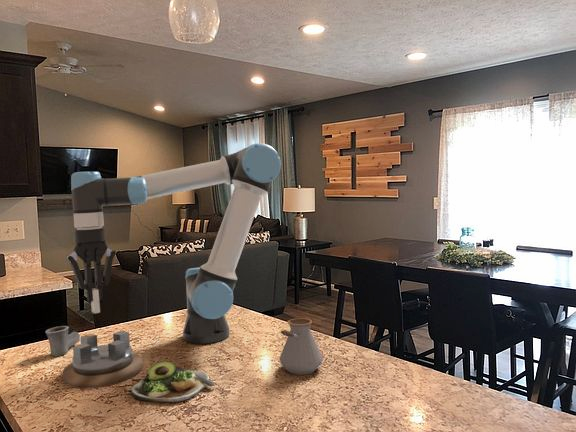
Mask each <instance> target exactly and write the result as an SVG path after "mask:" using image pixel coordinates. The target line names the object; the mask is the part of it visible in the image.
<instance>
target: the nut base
mask: <svg viewBox="0 0 576 432" xmlns="http://www.w3.org/2000/svg"><path fill="white" fill-rule="evenodd" d="M143 363H144V361H143V357H142V356H141V354H138V353H136V352H133V361H132V363H131V364H130V365H129V366H127V367H125V368H123V369H121V370H118V371H115V372H111V373H107V374H101V375H81V374H77V373H75V372H74V371H73V361H72V362H70V363H68V364H67V365H66V366H65V367H64V368H63V369H62V381H63V383H64V384H65V385H66V386H68V387H71V388H72V387H73V388H77V389H79V388H80V389H94V388H103V387H108V386H112V385H116V384H119V383H123V382H125V381H127V380H130V379H132V378H133V377H136V376H137V375H138V374H139V373H141V371H142V370H143V368H144V364H143Z"/></svg>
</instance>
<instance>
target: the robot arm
mask: <svg viewBox="0 0 576 432" xmlns="http://www.w3.org/2000/svg"><path fill="white" fill-rule="evenodd" d="M281 167H282V161H281V157H280V155H279V153H278V151H277V150H276V149H275V148H273V147H272V145H269V144H267V143H259V142H258V143H253V144H250V145H248V146H247V147H245V148H243V149H240V150H238V151H236V152H233V153H231V154H226V155H222V156H221V157H220V159H218V160H213V161H207V162H203V163H197V164H193V165H189V166H184V167H182V166H181V167H179V168H172V169H168V170H163V171H157V172H154V173H148V174H144V175H140V176H139V175H137V176H131V177H115V178H112V177H111V178H102V176H101V173H100V172H99V171H78V172H74V173H72V174H71V175H70V177H71V178H70V179H71V182H70V183H71V184H70V185H71V189H70V191H71V200H72V212H73V224H74V229H75V231H74V239H75V247H74V250H73V252H72V253H70V254H69V255H66V257H65V259H66V261H68V262H69V264H70V266H71V269H72V271H73V275H74V278H75V280H76V282H77V283H76V284H77V286H78V288H79V289H81V290H85V292H86V299H87V302H89V303H90V306H91V307H90V308H91V313H93V314H99V313H101V307H100V306H101V304H100V301H102V300H103V298H104V297H103V289H104V287H105V286H108V285H110V278H111V273H112V272H111V271H112V267H113V261H114V258H115V256H116V254H117V251H116V250H112V249H110V248H108V245H107V244H106V233H105V232H106V231H105V228H104V226H105V221H104V219H105V218H104V210H103V206H123V205H124V206H125V205H126V206H127V205H135V206H136V205H139V204H140V205H141V204H145V203H146V202H147V201H148V200H150V199H154V198H155V199H156V198H159V197H164V196H169V195H173V194H178V193H183V192H189V191H192V190H197V189H201V188H206V187H212V186H215V185H216V186H217V185H221V184H226V185H228V186H231V185H233V187H234V188H233V191H232V194H231V196H230V200H229V201H228V205H227V208H226V211H225V212H224V216H223V219H222V221H221V224H220V225H219V226H220V227H219V229H218V233H217V235H216V238H215V240H214V243H213V246H212V249H211V252H210V255H209V257H208V260H207V262H206V263H204V264H202V265H200V266H199V267H193V268H192V267H191V268H187V270H186V271H185V277H184V278H185V285H186V286H185V288H186V291H185V292H186V306H187V307H186V311H187V314H186V315H187V316H186V319H185V323H184V326H183V330H182V340H183V341H184V342H186V343H190V344H198V345H199V344H202V345H203V344H212V343H217V342H221V341H224V340H225V339H227V338H228V337H229V336H230V326H229V324H228V321H227V318H226V314H228V312H229V311H230V310H231V308H232V306H233V305H234V304H233V303H234V289H235V287H236V284H237V281H238V277H237V274H236V268H237V267H238V263H239V260H240V258H241V255H242V252H243V249H244V246H245V244H246V241H247V238H248V235H249V232H250V231H251V230H250V229H251V227H252V223H253V221H254V219H255V216H256V212H257V210H258V207H259V204H260V201H261V199H262V197H264V196H267V195H268V194H269V192H270V188H271V185H272V183H273V181H274V180H275V179H276V178H277V177H278V175H279V173H280V171H281ZM104 255H105V256H106V257H105V260H104V267H103V273H102V259H103V257H104ZM78 258H79V259H80V260H81V261H82V262H83V271H84V278H83V275H82V273H81V270H80V266H79V264H78V262H77V260H78ZM92 263H93V273H92ZM93 274H94V284H95V285H94V286H95V288H93V277H92V276H93Z"/></svg>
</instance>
